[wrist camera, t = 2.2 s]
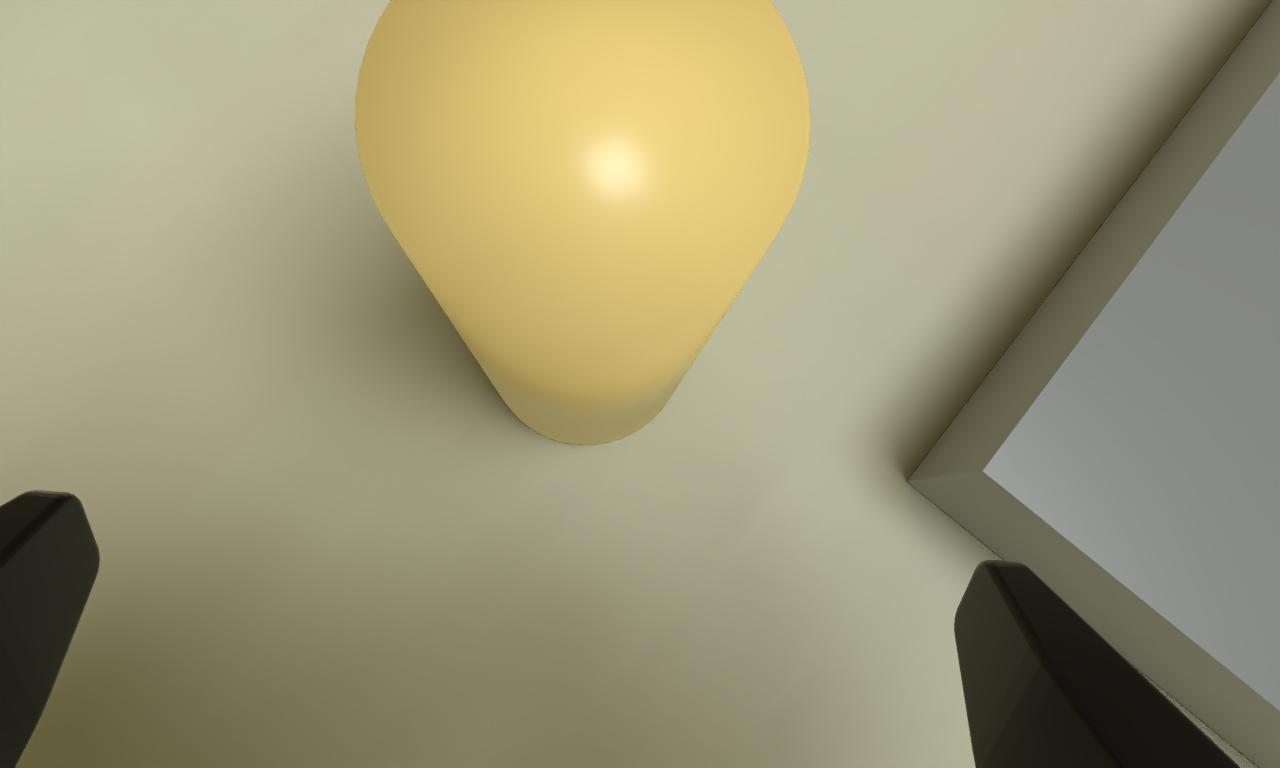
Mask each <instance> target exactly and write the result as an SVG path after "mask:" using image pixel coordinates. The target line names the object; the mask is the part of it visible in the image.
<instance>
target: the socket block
mask: <svg viewBox="0 0 1280 768" xmlns="http://www.w3.org/2000/svg"><path fill="white" fill-rule="evenodd" d="M907 482H908V483H909V484H911V485H912V486H913V487H914V488H916V489H917V490H918V491H919V492H920V493H922V494H923V495H924V496H925V497H927V498H928V499H929V500H930V501H932V502H933V503H934V504H935V505H936V506H938V507H939V508H940V509H941V510H943V511H944V512H945V513H946V514H948V515H949V516H950V517H951V518H952V519H954V520H955V521H956V522H957V523H959V524H960V525H961V526H962V527H964V528H965V529H966V530H967V531H968V532H970V533H971V534H972V535H973V536H975V537H976V538H977V539H978V540H980V541H981V542H982V543H983V544H984V545H986V546H987V547H988V548H989V549H991V550H992V551H993V552H994V553H996V554H997V555H998V556H999V557H1000V558H1002V559H1003V560H1004V561H1012V562H1019V563H1022V564H1024V565H1026V566H1027V567H1028V568H1030V569H1031V570H1032V571H1033V572H1034V573H1035V574H1036V575H1037V576H1038V577H1039V578H1040V579H1041V580H1043V581H1044V582H1045V583H1046V584H1047V585H1048V586H1049V587H1050V588H1051V589H1052V590H1053V591H1054V592H1055V593H1056V594H1057V595H1058V596H1059V597H1060V598H1062V599H1063V600H1064V601H1065V602H1066V603H1067V604H1068V605H1069V606H1070V607H1071V608H1072V609H1073V610H1074V611H1075V612H1076V613H1077V614H1078V615H1080V616H1081V617H1082V618H1083V619H1084V620H1085V621H1086V622H1087V623H1088V624H1089V625H1090V626H1091V627H1092V628H1093V629H1094V630H1095V631H1096V632H1098V633H1099V634H1100V635H1101V636H1102V637H1103V638H1104V639H1105V640H1106V641H1107V642H1108V643H1109V644H1110V645H1111V646H1112V647H1113V648H1114V649H1115V650H1117V651H1118V652H1119V653H1120V654H1121V655H1122V656H1123V657H1124V658H1125V659H1126V660H1127V661H1128V662H1130V663H1131V664H1132V665H1133V666H1135V667H1136V668H1137V669H1138V670H1139V671H1141V672H1142V673H1143V674H1144V675H1146V676H1147V677H1148V678H1149V679H1151V680H1152V681H1153V682H1154V683H1155V684H1157V685H1158V686H1159V687H1160V688H1162V689H1163V690H1164V691H1165V692H1167V693H1168V694H1169V695H1170V696H1171V697H1173V698H1174V699H1175V700H1176V701H1178V702H1179V703H1180V704H1181V705H1182V706H1184V707H1185V708H1186V709H1187V710H1189V711H1190V712H1191V713H1192V714H1194V715H1195V716H1196V717H1197V718H1198V719H1200V720H1201V721H1202V722H1203V723H1205V724H1206V725H1207V726H1208V727H1210V728H1211V729H1212V730H1213V731H1214V732H1216V733H1217V734H1218V735H1219V736H1221V737H1222V738H1223V739H1224V740H1226V741H1227V742H1228V743H1229V744H1230V745H1232V746H1233V747H1234V748H1235V749H1237V750H1238V751H1239V752H1240V753H1242V754H1243V755H1244V756H1245V757H1246V758H1248V759H1249V760H1250V761H1251V762H1253V763H1254V764H1255V765H1256V766H1258V767H1259V768H1280V0H1272V2H1271V3H1270V4H1269V6H1268V7H1267V8H1266V10H1265V11H1264V12H1263V14H1262V15H1261V16H1260V17H1259V19H1258V20H1257V21H1256V23H1255V24H1254V25H1253V27H1252V28H1251V29H1250V31H1249V32H1248V33H1247V35H1246V36H1245V37H1244V39H1243V40H1242V41H1241V42H1240V44H1239V45H1238V46H1237V48H1236V49H1235V50H1234V52H1233V53H1232V54H1231V56H1230V57H1229V58H1228V60H1227V61H1226V62H1225V63H1224V65H1223V66H1222V67H1221V69H1220V70H1219V71H1218V73H1217V74H1216V75H1215V77H1214V78H1213V79H1212V81H1211V82H1210V83H1209V85H1208V86H1207V87H1206V88H1205V90H1204V91H1203V92H1202V94H1201V95H1200V96H1199V98H1198V99H1197V100H1196V102H1195V103H1194V104H1193V106H1192V107H1191V108H1190V110H1189V111H1188V112H1187V113H1186V115H1185V116H1184V117H1183V119H1182V120H1181V121H1180V123H1179V124H1178V125H1177V127H1176V128H1175V129H1174V131H1173V132H1172V133H1171V135H1170V136H1169V137H1168V138H1167V140H1166V141H1165V142H1164V144H1163V145H1162V146H1161V148H1160V149H1159V150H1158V152H1157V153H1156V154H1155V156H1154V157H1153V158H1152V160H1151V161H1150V162H1149V163H1148V165H1147V166H1146V167H1145V169H1144V170H1143V171H1142V173H1141V174H1140V175H1139V177H1138V178H1137V179H1136V181H1135V182H1134V183H1133V185H1132V186H1131V187H1130V188H1129V190H1128V191H1127V192H1126V194H1125V195H1124V196H1123V198H1122V199H1121V200H1120V202H1119V203H1118V204H1117V206H1116V207H1115V208H1114V210H1113V211H1112V212H1111V213H1110V215H1109V216H1108V217H1107V219H1106V220H1105V221H1104V223H1103V224H1102V225H1101V227H1100V228H1099V229H1098V231H1097V232H1096V233H1095V235H1094V236H1093V237H1092V238H1091V240H1090V241H1089V242H1088V244H1087V245H1086V246H1085V248H1084V249H1083V250H1082V252H1081V253H1080V254H1079V256H1078V257H1077V258H1076V260H1075V261H1074V262H1073V263H1072V265H1071V266H1070V267H1069V269H1068V270H1067V271H1066V273H1065V274H1064V275H1063V277H1062V278H1061V279H1060V281H1059V282H1058V283H1057V285H1056V286H1055V287H1054V288H1053V290H1052V291H1051V292H1050V294H1049V295H1048V296H1047V298H1046V299H1045V300H1044V302H1043V303H1042V304H1041V306H1040V307H1039V308H1038V310H1037V311H1036V312H1035V313H1034V315H1033V316H1032V317H1031V319H1030V320H1029V321H1028V323H1027V324H1026V325H1025V327H1024V328H1023V329H1022V331H1021V332H1020V333H1019V335H1018V336H1017V337H1016V338H1015V340H1014V341H1013V342H1012V344H1011V345H1010V346H1009V348H1008V349H1007V350H1006V352H1005V353H1004V354H1003V356H1002V357H1001V358H1000V360H999V361H998V362H997V363H996V365H995V366H994V367H993V369H992V370H991V371H990V373H989V374H988V375H987V377H986V378H985V379H984V381H983V382H982V383H981V385H980V386H979V387H978V388H977V390H976V391H975V392H974V394H973V395H972V396H971V398H970V399H969V400H968V402H967V403H966V404H965V406H964V407H963V408H962V410H961V411H960V412H959V413H958V415H957V416H956V417H955V419H954V420H953V421H952V423H951V424H950V425H949V427H948V428H947V429H946V431H945V432H944V433H943V434H942V436H941V437H940V438H939V440H938V441H937V442H936V444H935V445H934V446H933V448H932V449H931V450H930V452H929V453H928V454H927V456H926V457H925V458H924V459H923V461H922V462H921V463H920V465H919V466H918V467H917V469H916V470H915V471H914V473H913V474H912V475H911V477H910V478H909V479H908V481H907Z"/></svg>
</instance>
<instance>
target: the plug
mask: <svg viewBox="0 0 1280 768" xmlns="http://www.w3.org/2000/svg"><path fill="white" fill-rule="evenodd" d="M810 125H811V121H810V106H809V94H808V89H807V84H806V79H805V74H804V69H803V66H802V63H801V60H800V57H799V55H798V52H797V49H796V46H795V43H794V41H793V39H792V37H791V35H790V33H789V31H788V29H787V27H786V25H785V23H784V21H783V19H782V17H781V16H780V14H779V13H778V11H777V10H776V8H775V7H774V5H773V4H772V2H771V1H770V0H391V1H390V2H389V4H388V5H387V7H386V9H385V10H384V12H383V13H382V15H381V16H380V18H379V20H378V22H377V25H376V27H375V29H374V31H373V33H372V35H371V37H370V40H369V42H368V45H367V48H366V51H365V54H364V58H363V61H362V64H361V68H360V72H359V78H358V85H357V91H356V98H355V129H356V137H357V145H358V153H359V158H360V161H361V165H362V169H363V172H364V176H365V180H366V183H367V185H368V188H369V190H370V192H371V195H372V197H373V199H374V202H375V204H376V206H377V209H378V210H379V212H380V214H381V215H382V217H383V219H384V220H385V222H386V224H387V225H388V227H389V229H390V230H391V232H392V234H393V235H394V237H395V238H396V240H397V241H398V243H399V244H400V246H401V247H402V249H403V250H404V252H405V253H406V255H407V256H408V258H409V259H410V261H411V262H412V264H413V265H414V267H415V268H416V270H417V271H418V273H419V274H420V276H421V277H422V279H423V280H424V282H425V283H426V285H427V286H428V288H429V289H430V291H431V292H432V294H433V295H434V297H435V298H436V300H437V301H438V303H439V304H440V306H441V307H442V309H443V310H444V312H445V313H446V315H447V316H448V318H449V319H450V321H451V322H452V324H453V325H454V327H455V328H456V330H457V331H458V333H459V334H460V336H461V337H462V339H463V340H464V342H465V343H466V345H467V346H468V348H469V349H470V351H471V352H472V354H473V355H474V357H475V358H476V360H477V361H478V363H479V364H480V366H481V367H482V369H483V370H484V372H485V373H486V375H487V376H488V378H489V379H490V381H491V382H492V384H493V385H494V387H495V388H496V390H497V391H498V393H499V394H500V396H501V397H502V399H503V400H504V402H505V404H506V405H507V406H508V407H509V409H510V410H511V411H512V412H513V413H514V414H515V415H516V416H517V417H518V418H519V419H520V420H521V421H522V422H523V423H524V424H526V425H527V426H528V427H530V428H531V429H533V430H534V431H536V432H538V433H540V434H542V435H543V436H545V437H548V438H551V439H553V440H556V441H560V442H564V443H568V444H576V445H597V444H604V443H609V442H612V441H616V440H619V439H622V438H624V437H626V436H628V435H631V434H633V433H634V432H636V431H638V430H639V429H641V428H642V427H644V426H645V425H646V424H647V423H649V422H650V421H651V420H652V419H653V418H654V417H655V416H656V415H657V414H658V413H659V412H660V411H661V410H662V408H663V407H664V406H665V404H666V403H667V402H668V400H669V399H670V397H671V396H672V394H673V393H674V391H675V389H676V388H677V386H678V385H679V383H680V382H681V380H682V379H683V377H684V376H685V374H686V373H687V371H688V370H689V368H690V367H691V365H692V363H693V362H694V360H695V359H696V357H697V356H698V354H699V353H700V351H701V350H702V348H703V347H704V345H705V344H706V342H707V340H708V339H709V337H710V336H711V334H712V333H713V331H714V330H715V328H716V327H717V325H718V324H719V322H720V321H721V319H722V317H723V316H724V314H725V313H726V311H727V310H728V308H729V307H730V305H731V304H732V302H733V301H734V299H735V298H736V296H737V295H738V293H739V291H740V290H741V288H742V287H743V285H744V284H745V282H746V281H747V279H748V278H749V276H750V275H751V273H752V272H753V270H754V268H755V267H756V265H757V264H758V262H759V261H760V259H761V258H762V256H763V255H764V253H765V252H766V250H767V249H768V247H769V246H770V244H771V242H772V241H773V239H774V238H775V236H776V235H777V233H778V232H779V230H780V228H781V227H782V225H783V223H784V221H785V219H786V217H787V215H788V213H789V211H790V210H791V208H792V206H793V204H794V201H795V198H796V195H797V193H798V190H799V187H800V184H801V182H802V179H803V175H804V170H805V166H806V161H807V156H808V152H809V139H810Z"/></svg>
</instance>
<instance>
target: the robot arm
mask: <svg viewBox="0 0 1280 768" xmlns="http://www.w3.org/2000/svg"><path fill="white" fill-rule="evenodd" d="M99 562H100V556H99V549H98V546H97V543H96V541H95V538H94V535H93V533H92V530H91V527H90V525H89V522H88V519H87V516H86V514H85V511H84V508H83V506H82V503H81V501H80V500H79V499H78V498H77V497H76V496H75V495H74V494H70V493H66V492H52V491H38V490H35V491H28V492H25V493H23V494H21V495H19V496H17V497H15V498H14V499H12V500H10V501H9V502H7V503H5V504H3V505H2V506H0V768H15V766H16V764H17V762H18V760H19V758H20V757H21V755H22V753H23V751H24V749H25V747H26V745H27V743H28V741H29V739H30V737H31V735H32V733H33V731H34V729H35V727H36V725H37V723H38V721H39V719H40V717H41V715H42V712H43V710H44V708H45V705H46V703H47V701H48V698H49V696H50V694H51V691H52V689H53V686H54V684H55V681H56V679H57V676H58V673H59V671H60V668H61V666H62V663H63V661H64V658H65V656H66V653H67V650H68V648H69V645H70V643H71V640H72V638H73V635H74V633H75V630H76V628H77V625H78V622H79V620H80V617H81V615H82V612H83V610H84V607H85V605H86V602H87V599H88V597H89V594H90V592H91V589H92V587H93V584H94V582H95V579H96V576H97V573H98V569H99ZM954 632H955V639H956V646H957V652H958V659H959V665H960V672H961V678H962V685H963V691H964V698H965V704H966V711H967V717H968V724H969V730H970V737H971V743H972V750H973V755H974V761H975V766H976V768H1240V767H1239V766H1238V765H1237V764H1236V763H1235V762H1234V761H1233V760H1232V759H1231V758H1230V757H1229V756H1228V755H1227V754H1225V753H1224V752H1223V751H1222V750H1221V749H1220V748H1219V747H1218V746H1217V745H1216V744H1215V743H1214V742H1213V741H1212V740H1211V739H1210V738H1209V737H1208V736H1206V735H1205V734H1204V733H1203V732H1202V731H1201V730H1200V729H1199V728H1198V727H1197V726H1196V725H1195V724H1194V723H1193V722H1192V721H1191V720H1190V719H1188V718H1187V717H1186V716H1185V715H1184V714H1183V713H1182V712H1181V711H1180V710H1179V709H1178V708H1177V707H1176V706H1175V705H1174V704H1173V703H1172V702H1170V701H1169V700H1168V699H1167V698H1166V697H1165V696H1164V695H1163V694H1162V693H1161V692H1160V691H1159V690H1158V689H1157V688H1156V687H1155V686H1154V685H1153V684H1151V683H1150V682H1149V681H1148V680H1147V679H1146V678H1145V677H1144V676H1143V675H1142V674H1141V673H1140V672H1139V671H1138V670H1137V669H1136V668H1135V667H1133V666H1132V665H1131V664H1130V663H1129V662H1128V661H1127V660H1126V659H1125V658H1124V657H1123V656H1122V655H1121V654H1120V653H1119V652H1118V651H1117V650H1115V649H1114V648H1113V647H1112V646H1111V645H1110V644H1109V643H1108V642H1107V641H1106V640H1105V639H1104V638H1103V637H1102V636H1101V635H1100V634H1099V633H1098V632H1096V631H1095V630H1094V629H1093V628H1092V627H1091V626H1090V625H1089V624H1088V623H1087V622H1086V621H1085V620H1084V619H1083V618H1082V617H1081V616H1080V615H1078V614H1077V613H1076V612H1075V611H1074V610H1073V609H1072V608H1071V607H1070V606H1069V605H1068V604H1067V603H1066V602H1065V601H1064V600H1063V599H1062V598H1060V597H1059V596H1058V595H1057V594H1056V593H1055V592H1054V591H1053V590H1052V589H1051V588H1050V587H1049V586H1048V585H1047V584H1046V583H1045V582H1044V581H1043V580H1041V579H1040V578H1039V577H1038V576H1037V575H1036V574H1035V573H1034V572H1033V571H1032V570H1031V569H1030V568H1028V567H1027V566H1026V565H1024V564H1022V563H1019V562H1012V561H999V560H984V561H982V562H981V563H980V564H979V565H978V566H977V568H976V569H975V571H974V573H973V576H972V578H971V580H970V582H969V584H968V587H967V589H966V591H965V593H964V595H963V598H962V600H961V602H960V604H959V606H958V609H957V612H956V615H955V623H954Z"/></svg>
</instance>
